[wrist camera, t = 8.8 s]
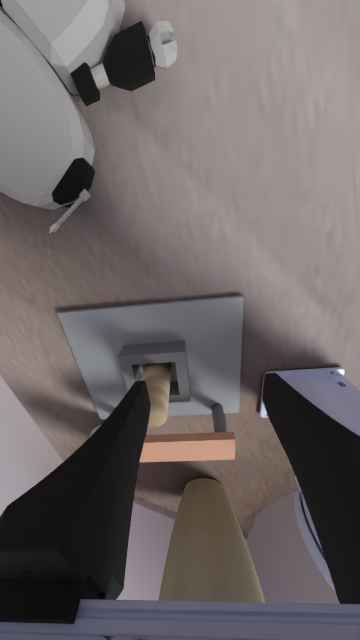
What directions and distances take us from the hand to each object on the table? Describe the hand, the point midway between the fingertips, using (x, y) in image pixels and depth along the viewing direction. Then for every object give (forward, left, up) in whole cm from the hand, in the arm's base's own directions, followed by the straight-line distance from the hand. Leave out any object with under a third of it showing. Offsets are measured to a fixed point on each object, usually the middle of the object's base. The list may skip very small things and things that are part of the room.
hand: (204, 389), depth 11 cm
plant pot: (+1, +36, -11) cm, 38 cm away
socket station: (+5, +6, -10) cm, 13 cm away
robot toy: (+9, -19, -11) cm, 23 cm away
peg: (+5, +6, -10) cm, 12 cm away
